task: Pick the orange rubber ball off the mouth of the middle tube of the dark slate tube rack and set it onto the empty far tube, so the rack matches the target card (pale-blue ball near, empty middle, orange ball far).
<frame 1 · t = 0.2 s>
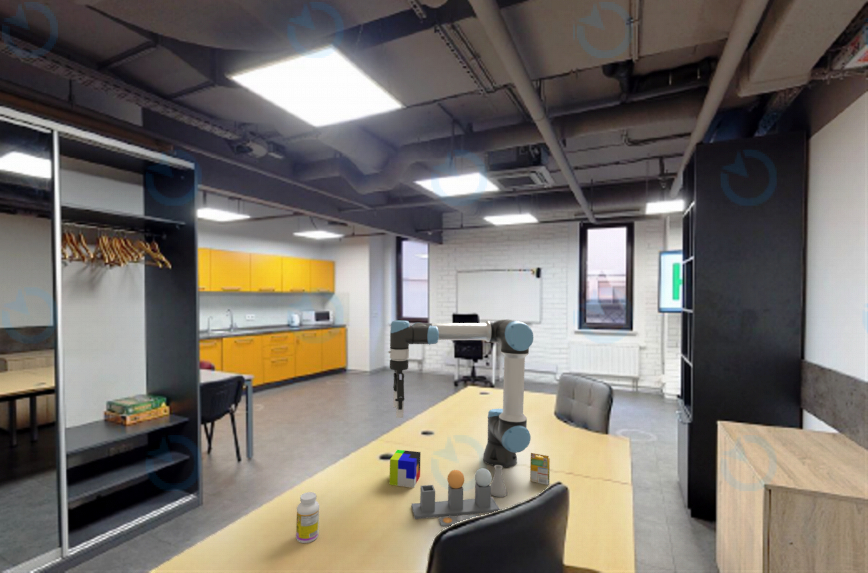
hand: (398, 412, 161), 28 cm above the table, fingers open, 13 cm apart
supplement bottle: (307, 538, 124), on the table
orange ball: (455, 479, 142), point 10 cm above the table, touching tube rack
blue ball: (483, 477, 143), point 10 cm above the table, touching tube rack
flask: (497, 493, 154), on the table
crayon box: (539, 482, 163), on the table
puzzle toy: (405, 481, 162), on the table
target card: (460, 521, 134), on the table
tube rack: (455, 509, 141), on the table
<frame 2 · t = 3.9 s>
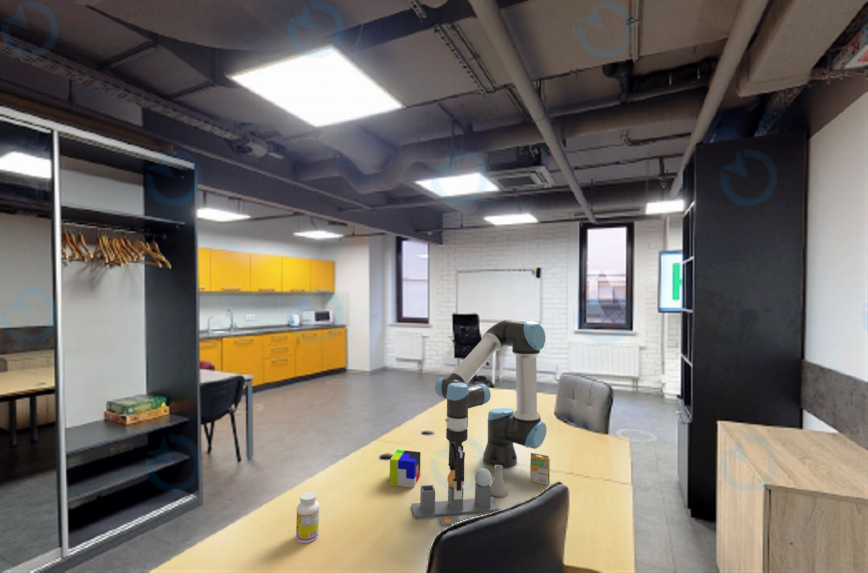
hand: (455, 493, 142), 5 cm above the table, fingers closed on orange ball, 6 cm apart
orange ball: (455, 479, 142), point 10 cm above the table, touching gripper, tube rack
everything else where it was.
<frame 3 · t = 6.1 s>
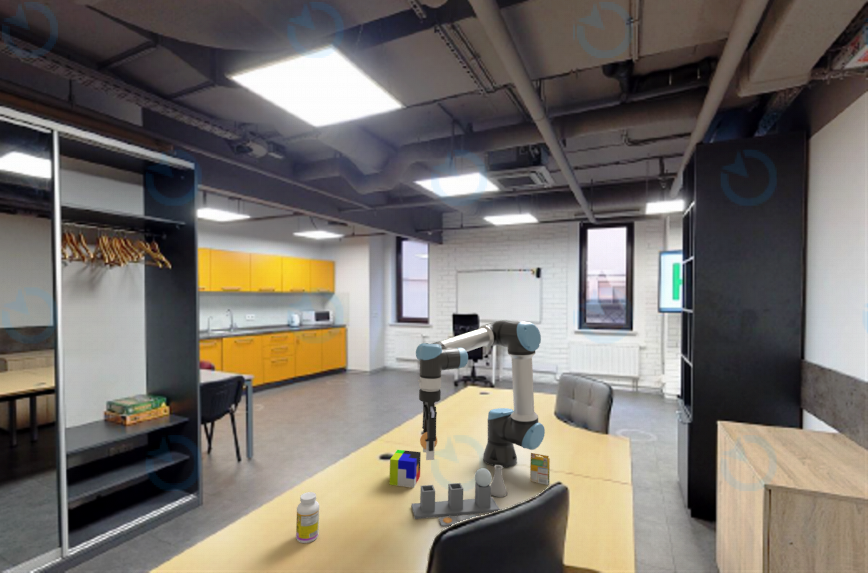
hand: (428, 455, 140), 19 cm above the table, fingers closed on orange ball, 6 cm apart
orange ball: (428, 440, 140), point 24 cm above the table, touching gripper
everything else where it was.
when the fingers open (7 cm above the table, at t = 8.6 s): orange ball drops 1 cm, resting on tube rack.
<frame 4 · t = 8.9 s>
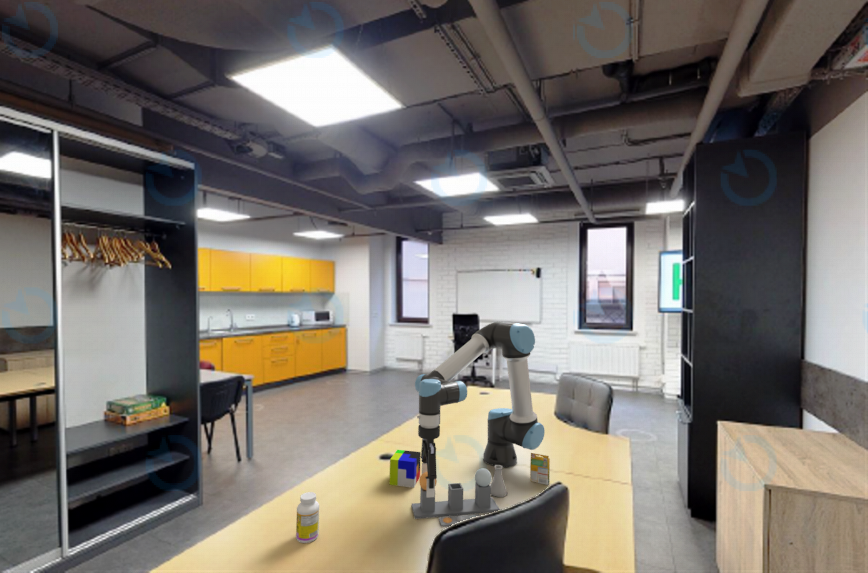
hand: (427, 488, 140), 8 cm above the table, fingers open, 10 cm apart
orange ball: (427, 481, 140), point 10 cm above the table, touching tube rack
everything else where it was.
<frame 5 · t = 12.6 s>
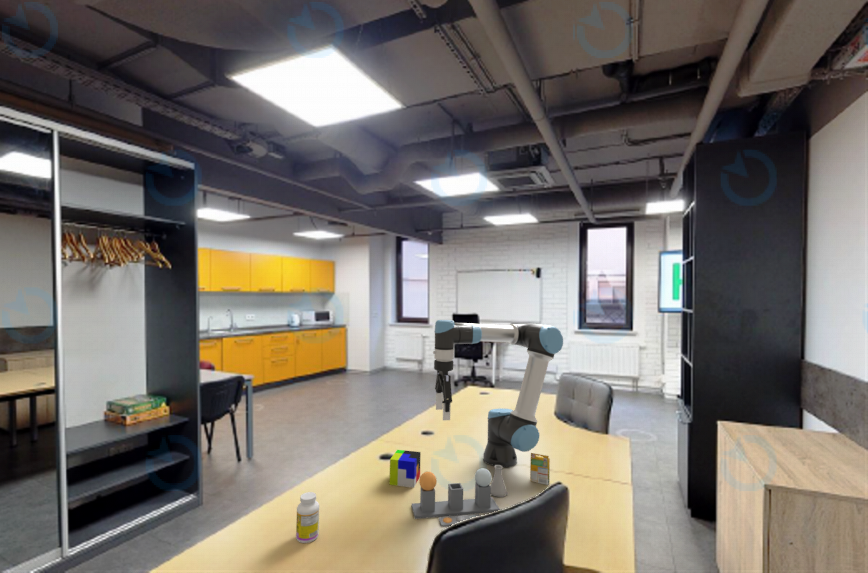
hand: (442, 414, 156), 29 cm above the table, fingers open, 13 cm apart
nothing on the table moved.
at the end: orange ball 0.0 cm from the target spot on the tube rack, point 10.5 cm above the tube rack's base; the gripper is holding nothing; blue ball moved 0.0 cm from its start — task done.
